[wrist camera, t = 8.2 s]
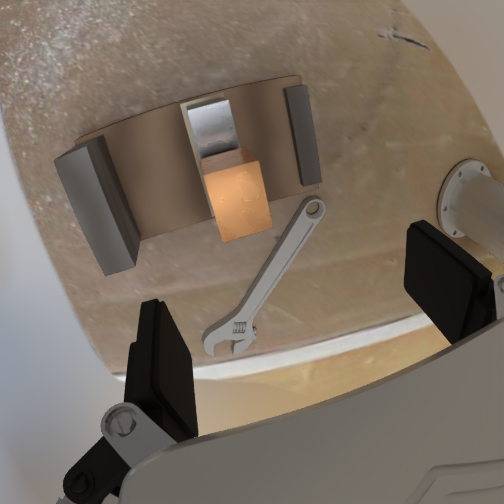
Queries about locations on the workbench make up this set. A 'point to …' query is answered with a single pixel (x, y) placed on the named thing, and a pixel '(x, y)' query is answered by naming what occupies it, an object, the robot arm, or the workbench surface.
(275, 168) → the bench vise
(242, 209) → the sliding jaw
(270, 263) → the adjustable wrench
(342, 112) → the workbench surface
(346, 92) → the workbench surface
